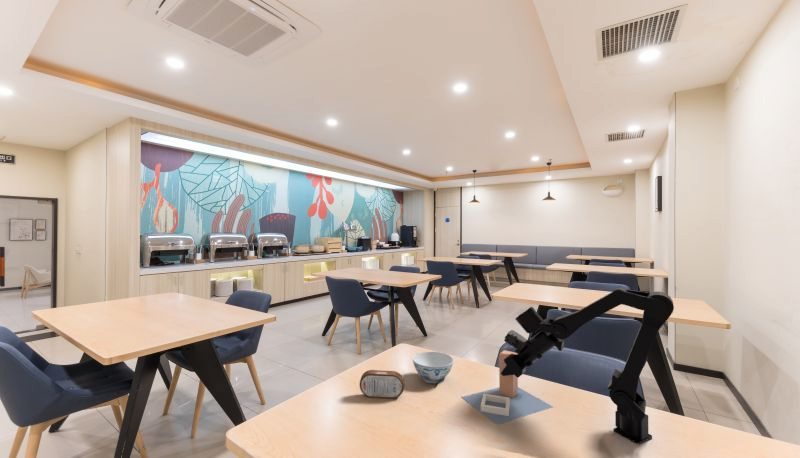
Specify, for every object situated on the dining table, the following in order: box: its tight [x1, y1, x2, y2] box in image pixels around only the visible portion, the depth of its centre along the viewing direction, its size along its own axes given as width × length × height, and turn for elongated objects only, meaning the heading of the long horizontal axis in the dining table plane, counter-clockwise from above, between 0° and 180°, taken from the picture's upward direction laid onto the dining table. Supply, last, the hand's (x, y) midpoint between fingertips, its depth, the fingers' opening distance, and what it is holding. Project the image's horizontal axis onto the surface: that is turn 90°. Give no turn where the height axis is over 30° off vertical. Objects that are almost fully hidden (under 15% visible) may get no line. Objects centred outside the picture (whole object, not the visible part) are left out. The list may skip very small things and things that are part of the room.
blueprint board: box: [460, 386, 554, 426], centre depth 103 cm, size 17×22×1 cm
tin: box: [359, 369, 406, 400], centre depth 109 cm, size 15×3×8 cm, turn 84°
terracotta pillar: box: [498, 349, 519, 398], centre depth 109 cm, size 4×4×13 cm
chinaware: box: [412, 351, 454, 384], centre depth 122 cm, size 15×15×8 cm
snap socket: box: [481, 394, 510, 416], centre depth 100 cm, size 8×8×2 cm
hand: (504, 372), depth 110 cm, fingers closed on terracotta pillar, 4 cm apart
